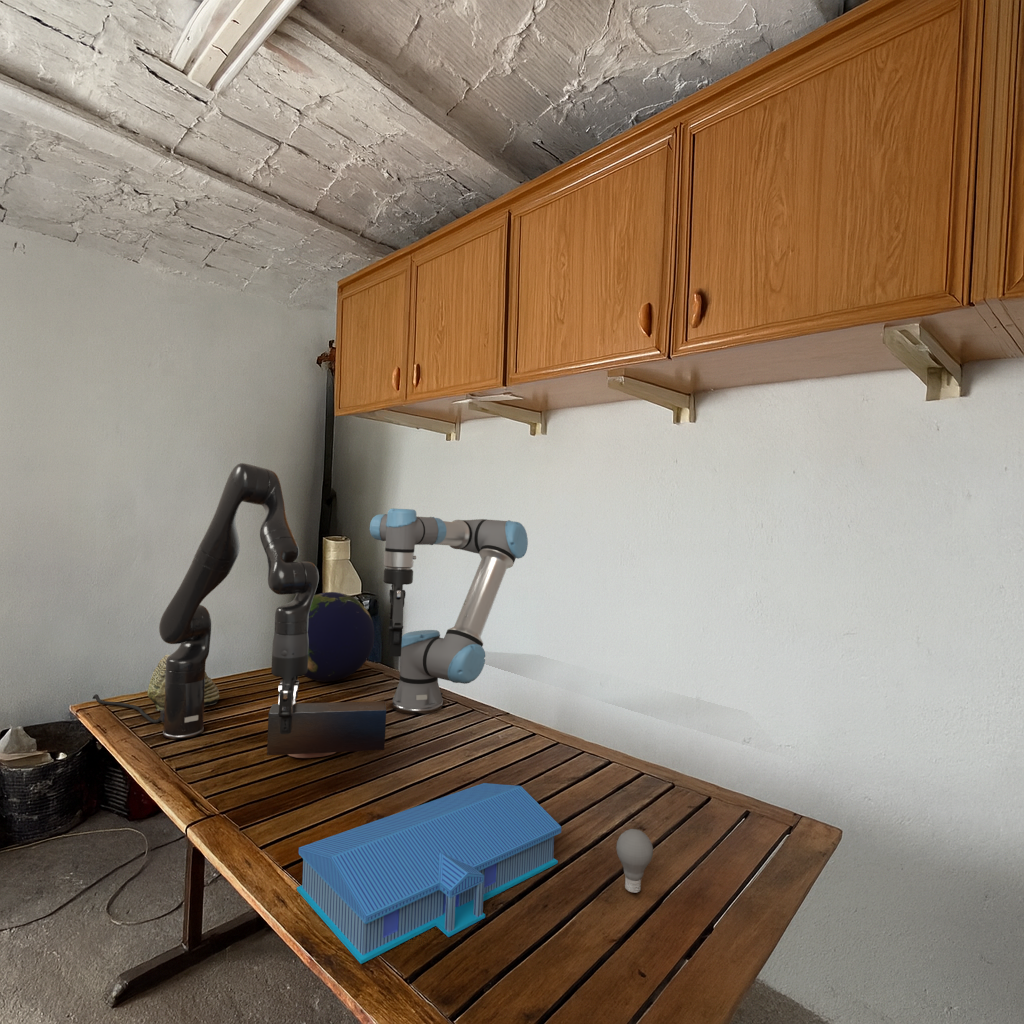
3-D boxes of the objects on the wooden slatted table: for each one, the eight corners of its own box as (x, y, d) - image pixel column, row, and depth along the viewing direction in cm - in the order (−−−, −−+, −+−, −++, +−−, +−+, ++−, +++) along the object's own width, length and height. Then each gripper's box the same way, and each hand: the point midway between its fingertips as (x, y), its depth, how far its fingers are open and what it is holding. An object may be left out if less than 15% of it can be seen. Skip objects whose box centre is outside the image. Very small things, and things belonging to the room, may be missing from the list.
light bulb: (610, 879, 108) (613, 822, 108) (644, 879, 109) (647, 822, 109) (619, 902, 102) (622, 840, 102) (655, 901, 103) (658, 840, 103)
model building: (372, 977, 84) (375, 903, 84) (295, 888, 102) (297, 827, 102) (571, 871, 110) (574, 814, 110) (482, 815, 129) (484, 766, 128)
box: (266, 755, 136) (268, 713, 136) (270, 744, 142) (272, 704, 142) (384, 750, 142) (386, 709, 141) (383, 739, 148) (385, 701, 147)
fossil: (144, 707, 182) (145, 655, 182) (212, 696, 194) (213, 647, 194) (151, 716, 175) (153, 662, 175) (221, 703, 188) (223, 653, 188)
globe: (261, 684, 208) (265, 593, 208) (321, 664, 236) (324, 584, 236) (336, 698, 197) (339, 602, 197) (389, 675, 225) (393, 591, 224)
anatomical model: (275, 738, 153) (300, 722, 164) (275, 755, 153) (300, 738, 164) (326, 745, 150) (348, 728, 162) (325, 762, 151) (347, 744, 162)
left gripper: (305, 660, 133) (302, 739, 133) (310, 644, 147) (307, 716, 147) (267, 661, 131) (264, 741, 132) (276, 644, 145) (273, 717, 146)
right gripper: (416, 573, 153) (412, 661, 153) (410, 564, 177) (406, 639, 177) (385, 572, 151) (380, 661, 151) (383, 563, 175) (378, 639, 175)
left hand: (287, 727), depth 140 cm, fingers closed on box, 6 cm apart
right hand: (394, 650), depth 164 cm, fingers open, 13 cm apart
